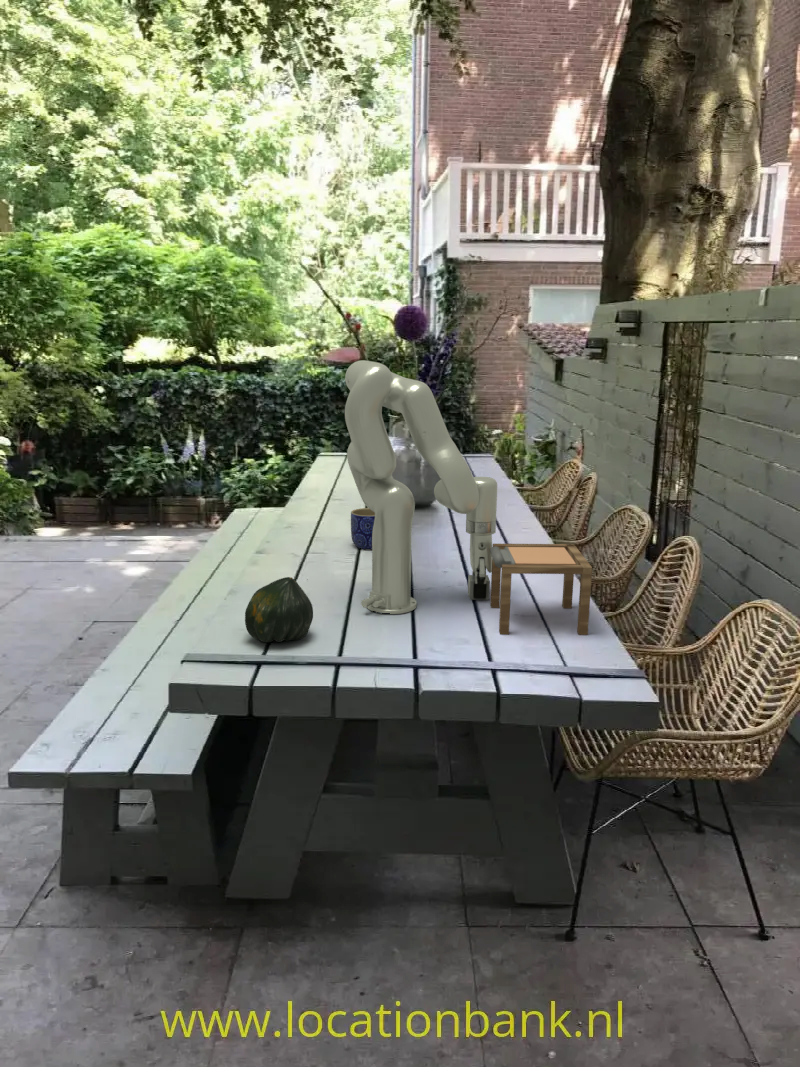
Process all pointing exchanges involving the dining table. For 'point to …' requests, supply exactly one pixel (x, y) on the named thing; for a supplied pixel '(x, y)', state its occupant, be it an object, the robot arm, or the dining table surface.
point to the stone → (471, 587)
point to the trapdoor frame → (567, 570)
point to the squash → (279, 612)
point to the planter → (362, 527)
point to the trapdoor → (531, 556)
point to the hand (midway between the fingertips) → (478, 593)
